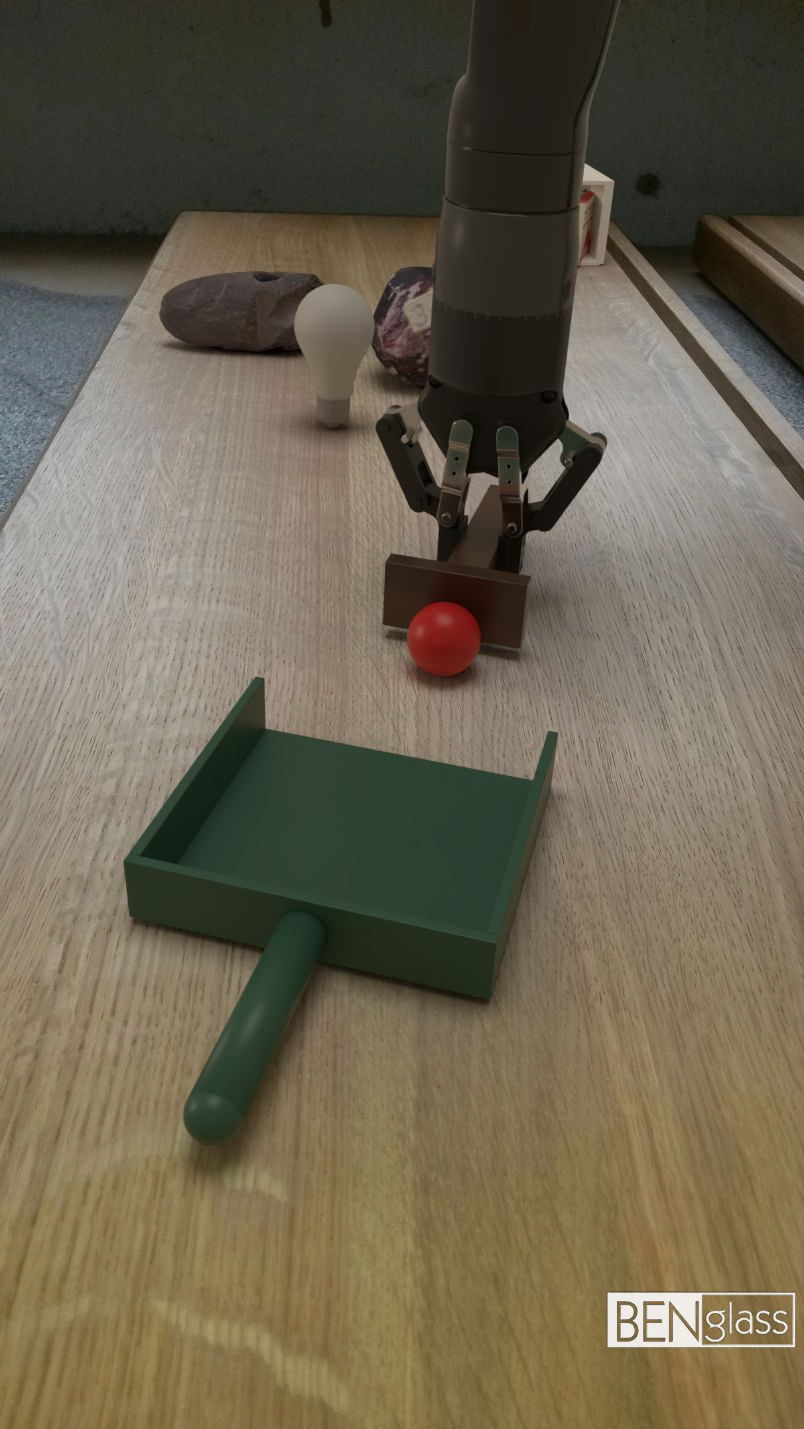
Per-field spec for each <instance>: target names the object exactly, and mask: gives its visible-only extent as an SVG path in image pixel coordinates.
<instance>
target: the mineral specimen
mask: <svg viewBox="0 0 804 1429" xmlns="http://www.w3.org/2000/svg"><path fill="white" fill-rule="evenodd" d="M432 295H433V285H432V266H407V267H401V268H399V269H398V270H396V272H394V273H393V274H392V275H391V276H390V278H389V280H388V282H387V283H386V285H385V287H384V290H383V292H382V294H381V297H380V299H379V301H378V303H377V305H376V308H375V310H374V312H373V317H374V323H375V325H374V335H373V339H372V343H371V345H370V346H371V349H372V350H373V352H374V354H375V356H376V358H377V360H378V361H379V362H380V364H381V365H382V366H383V368H384V369H385V370H386V371H387V372H388V373H390V374H391V375H393V376H395V377H396V378H397V379H399V380H400V381H402V382H404V383H406V384H408V385H410V386H413V387H414V386H415V387H424V388H425V386H426V383H427V380H428V365H429V347H430V330H431V313H432Z"/></svg>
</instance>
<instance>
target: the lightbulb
mask: <svg viewBox="0 0 804 1429" xmlns="http://www.w3.org/2000/svg"><path fill="white" fill-rule="evenodd" d="M373 315H374V313H373V311H372V309H371V307H370V304H369V303H368V302H367V300H366V299H365V298H364V297H363V295H362V294H360V293H359V292H358V291H356V290H355V289H354V288H351V287H350V286H348V285H344V284H339V283H329V284H324V285H323V286H320V287H318V288H316V289H314V290H313V291H311V292H310V293H308V294H307V295H306V297H305V298H304V299H303V300H302V301H301V303H300V305H299V306H298V309H297V312H296V315H295V320H294V331H295V335H296V339H297V342H298V344H299V346H300V351H301V353H302V354H303V356H304V358H305V359H306V361H307V364H308V366H309V369H310V372H311V378H312V386H313V393H314V395H315V396H316V408H317V409H316V412H317V419H318V420H319V421H320V422H322V423H324V424H325V425H326V426H327V427H329V428H339V427H340V426H341V425H342V424H344V423H346V422H348V420H349V419H350V412H351V397H352V396H353V395H354V391H355V383H356V382H355V381H356V376H357V373H358V370H359V368H360V365H361V363H362V361H363V360H364V358H365V356H366V354H367V353H368V352H369V348H370V346H371V343H372V339H373V335H374V325H375V323H374V317H373Z"/></svg>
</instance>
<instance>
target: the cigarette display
mask: <svg viewBox="0 0 804 1429" xmlns="http://www.w3.org/2000/svg"><path fill="white" fill-rule="evenodd" d="M614 187H615V180H613V179H611V178H610V177H608V176H606V175H605V174H603V173H602V172H600V171H599V170H596V169H595V168H593V167H592V166H590V165H589V164H587V163H585V166H584V175H583V183H582V192H581V200H580V204H579V205H580V213H579V260H578V267H580V266H582V267H584V266H590V267H591V266H595V267H596V266H600V265H604V264H605V258H606V251H607V250H606V249H607V242H608V235H609V226H610V219H611V210H612V203H613V197H614V196H613V195H614V189H615V188H614Z"/></svg>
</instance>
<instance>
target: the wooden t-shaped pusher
mask: <svg viewBox="0 0 804 1429" xmlns="http://www.w3.org/2000/svg"><path fill="white" fill-rule="evenodd" d="M501 530H502V513H501V500H500V498H499V484H492V483H491V484H490V485H489V486H488V488H487V490H486V491H485V494H484V495H483V497H482V499H481V501H480V502H479V505H477V507H476V510H475V511H474V513H473V515H472V517H471V518H470V520H469V521H468V527H467V528H466V530H465V532H464V534H463V536H462V537H461V539H460V541H459V542H458V544H457V545H456V547H455V549H454V551H453V553H452V554H451V556H450V558H449V560H448V562H442V561H437V559H436V560H435V559H429V558H424V557H417V556H411V555H406V554H405V555H404V554H398V553H394V552H393V553H392V552H391V553H390V554H389V555H388V556H387V558H386V560H385V562H384V578H383V580H384V581H383V606H382V607H383V608H382V625H383V626H387V627H393V628H398V629H402V630H403V629H405V630H408V629H409V626H410V623H411V621H412V620H413V618H414V617H415V615H416V614H417V613H418V612H419V611H420V610H422V609H423V608H425V607H426V606H428V605H430V604H433V603H438V602H451V603H455V604H458V605H460V606H462V607H464V608H465V609H466V610H468V611H469V612H470V613H471V614H472V615H473V617H474V618H475V620H476V621H477V623H478V626H479V629H480V634H481V643H483V644H489V645H493V646H500V647H506V648H511V649H517V650H521V648H522V647H523V644H524V641H525V636H526V629H527V628H526V627H527V620H528V612H529V611H528V610H529V603H530V602H529V601H530V593H531V585H532V575H527V574H521V573H520V574H515V573H509V572H503V571H497V570H496V564H497V554H498V548H497V544H498V536H499V534H500V532H501Z"/></svg>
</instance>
